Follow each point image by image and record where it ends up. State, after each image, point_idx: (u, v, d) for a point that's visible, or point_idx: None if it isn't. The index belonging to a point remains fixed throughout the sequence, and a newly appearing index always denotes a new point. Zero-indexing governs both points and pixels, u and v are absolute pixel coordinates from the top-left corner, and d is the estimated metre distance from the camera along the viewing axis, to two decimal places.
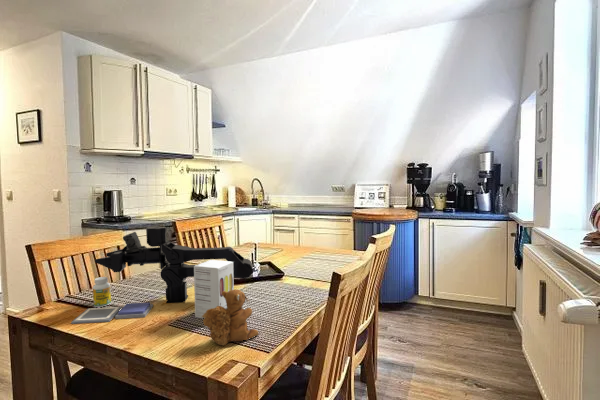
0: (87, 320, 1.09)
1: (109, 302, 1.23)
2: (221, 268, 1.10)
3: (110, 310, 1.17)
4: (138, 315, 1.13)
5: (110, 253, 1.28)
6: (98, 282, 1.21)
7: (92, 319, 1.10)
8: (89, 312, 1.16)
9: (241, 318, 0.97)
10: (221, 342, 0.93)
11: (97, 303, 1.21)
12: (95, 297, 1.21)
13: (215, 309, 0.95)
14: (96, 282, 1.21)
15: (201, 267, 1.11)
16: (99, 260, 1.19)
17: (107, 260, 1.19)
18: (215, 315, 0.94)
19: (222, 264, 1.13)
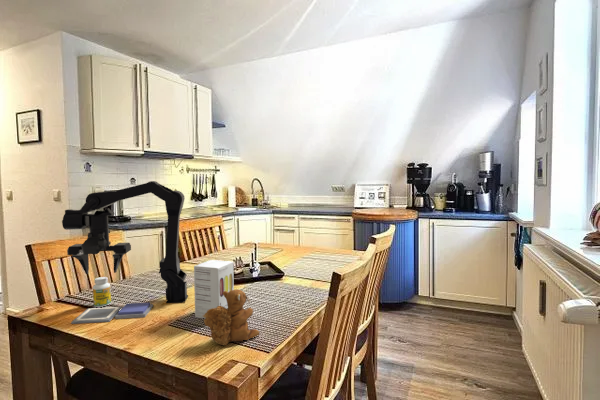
0: (87, 320, 1.09)
1: (109, 302, 1.23)
2: (221, 268, 1.10)
3: (110, 310, 1.17)
4: (138, 315, 1.13)
5: (86, 269, 1.22)
6: (98, 282, 1.21)
7: (92, 319, 1.10)
8: (89, 312, 1.16)
9: (242, 318, 0.97)
10: (222, 342, 0.93)
11: (97, 303, 1.21)
12: (95, 297, 1.21)
13: (216, 309, 0.95)
14: (96, 282, 1.21)
15: (201, 267, 1.11)
16: (116, 268, 1.23)
17: (117, 260, 1.23)
18: (216, 315, 0.94)
19: (222, 264, 1.13)
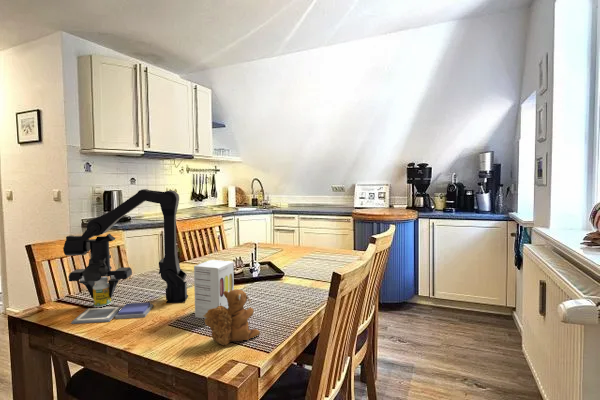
0: (87, 320, 1.09)
1: (109, 302, 1.23)
2: (221, 268, 1.10)
3: (110, 310, 1.17)
4: (138, 315, 1.13)
5: None
6: (98, 282, 1.21)
7: (92, 319, 1.10)
8: (89, 312, 1.16)
9: (242, 318, 0.97)
10: (222, 342, 0.93)
11: (97, 303, 1.21)
12: (95, 297, 1.21)
13: (216, 309, 0.95)
14: (96, 282, 1.21)
15: (201, 267, 1.11)
16: (112, 293, 1.23)
17: (113, 285, 1.23)
18: (216, 315, 0.94)
19: (222, 264, 1.13)
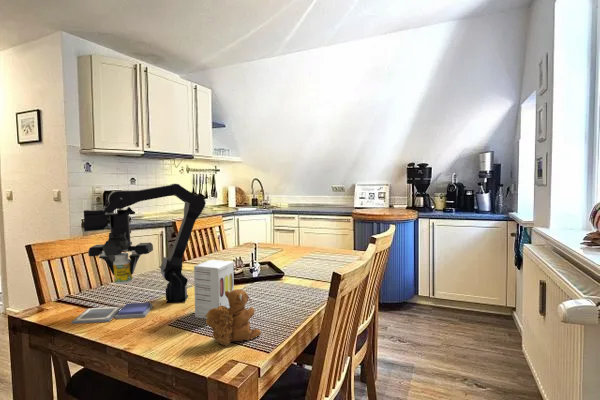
0: (87, 320, 1.09)
1: (130, 278, 1.18)
2: (221, 268, 1.10)
3: (110, 310, 1.17)
4: (138, 315, 1.13)
5: None
6: (118, 257, 1.16)
7: (92, 319, 1.10)
8: (89, 312, 1.16)
9: (244, 317, 0.97)
10: (224, 342, 0.93)
11: (118, 279, 1.16)
12: (116, 273, 1.16)
13: (218, 309, 0.95)
14: (116, 257, 1.16)
15: (201, 267, 1.11)
16: (133, 269, 1.18)
17: (134, 261, 1.18)
18: (218, 315, 0.94)
19: (222, 264, 1.13)
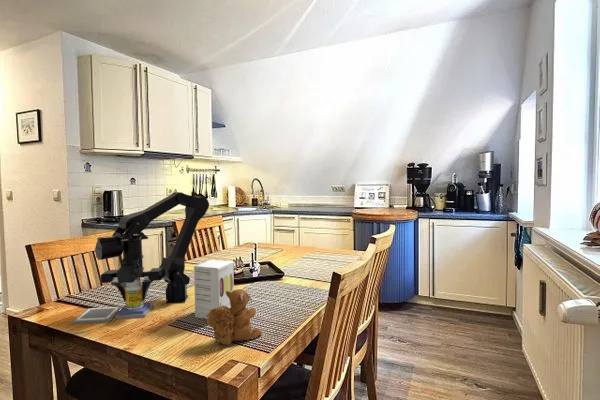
0: (87, 320, 1.09)
1: (142, 304, 1.16)
2: (221, 268, 1.10)
3: (110, 310, 1.17)
4: (138, 315, 1.13)
5: (125, 297, 1.16)
6: None
7: (92, 319, 1.10)
8: (89, 312, 1.16)
9: (245, 317, 0.97)
10: (225, 342, 0.93)
11: (130, 305, 1.14)
12: (128, 299, 1.14)
13: (219, 309, 0.95)
14: (129, 283, 1.14)
15: (201, 267, 1.11)
16: (145, 295, 1.17)
17: (146, 287, 1.17)
18: (219, 315, 0.94)
19: (222, 264, 1.13)
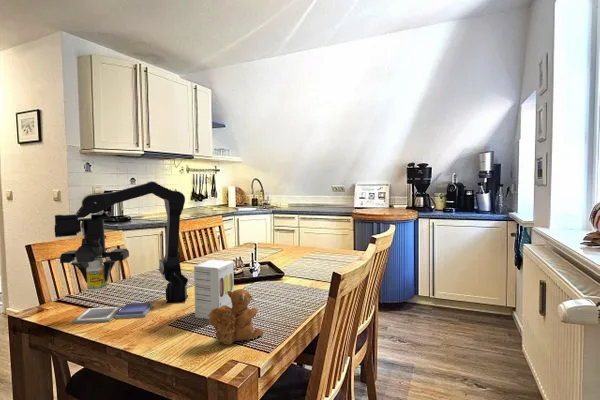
0: (87, 320, 1.09)
1: (104, 285, 1.13)
2: (221, 268, 1.10)
3: (110, 310, 1.17)
4: (138, 315, 1.13)
5: None
6: (92, 263, 1.11)
7: (92, 319, 1.10)
8: (89, 312, 1.16)
9: (246, 317, 0.97)
10: (226, 341, 0.93)
11: (91, 286, 1.11)
12: (89, 279, 1.11)
13: (220, 308, 0.95)
14: (90, 263, 1.11)
15: (201, 267, 1.11)
16: (107, 276, 1.14)
17: (109, 268, 1.14)
18: (220, 314, 0.94)
19: (222, 264, 1.13)
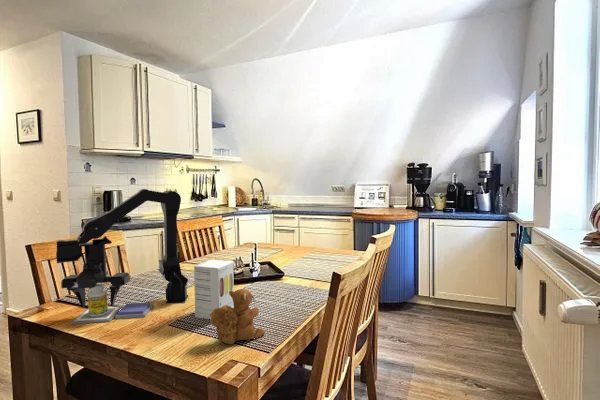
0: (87, 320, 1.09)
1: (105, 310, 1.14)
2: (221, 268, 1.10)
3: (110, 310, 1.17)
4: (138, 315, 1.13)
5: (83, 302, 1.13)
6: (93, 289, 1.12)
7: (92, 319, 1.10)
8: None
9: (248, 317, 0.97)
10: (228, 341, 0.94)
11: (92, 312, 1.12)
12: (90, 305, 1.12)
13: (222, 308, 0.95)
14: (91, 289, 1.12)
15: (201, 267, 1.11)
16: (113, 300, 1.15)
17: None
18: (222, 314, 0.95)
19: (222, 264, 1.13)
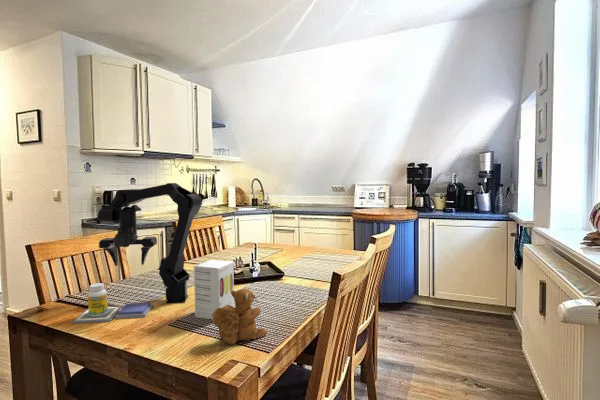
0: (87, 320, 1.09)
1: (105, 310, 1.14)
2: (221, 268, 1.10)
3: (110, 310, 1.17)
4: (138, 315, 1.13)
5: (116, 261, 1.30)
6: (93, 289, 1.12)
7: (92, 319, 1.10)
8: None
9: (250, 317, 0.97)
10: (230, 341, 0.94)
11: (92, 312, 1.12)
12: (90, 305, 1.12)
13: (224, 308, 0.95)
14: (91, 289, 1.12)
15: (201, 267, 1.11)
16: (144, 260, 1.31)
17: None
18: (224, 314, 0.95)
19: (222, 264, 1.13)
